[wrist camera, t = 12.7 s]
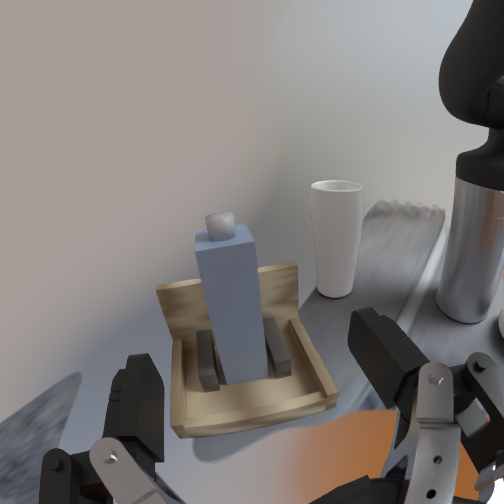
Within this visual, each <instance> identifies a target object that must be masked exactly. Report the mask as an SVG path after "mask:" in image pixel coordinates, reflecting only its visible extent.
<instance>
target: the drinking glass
mask: <svg viewBox="0 0 504 504" xmlns="http://www.w3.org/2000/svg"><path fill="white" fill-rule="evenodd" d="M363 210H364V196H363V186H362V185H361V184H359V183H356V182H351V181H340V180H331V181H330V180H329V181H320V182H316V183H313V184H312V185H311V220H312V229H313V238H314V248H315V260H316V271H317V289H318V291H319V292H320V293H321V294H322V295H324V296H327V297H331V298H340V297H344V296H346V295H348V294H349V293H350V292H351V291H352V289H353V283H354V275H355V269H356V263H357V257H358V251H359V245H360V238H361V231H362V223H363Z"/></svg>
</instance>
